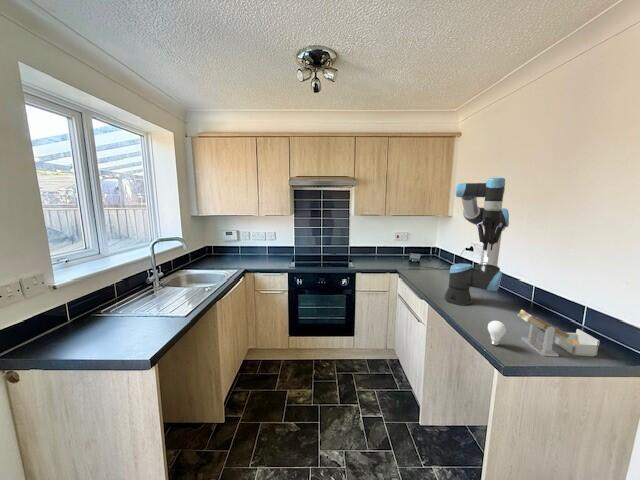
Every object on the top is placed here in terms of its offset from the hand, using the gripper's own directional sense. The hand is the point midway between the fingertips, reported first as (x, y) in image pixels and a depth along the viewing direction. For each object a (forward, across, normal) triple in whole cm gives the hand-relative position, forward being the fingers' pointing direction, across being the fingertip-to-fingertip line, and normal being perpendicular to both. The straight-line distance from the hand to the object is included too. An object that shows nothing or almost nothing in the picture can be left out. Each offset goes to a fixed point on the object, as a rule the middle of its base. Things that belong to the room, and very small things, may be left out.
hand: (486, 256), depth 133 cm
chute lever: (+26, +11, -22) cm, 35 cm away
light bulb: (+34, -6, -25) cm, 43 cm away
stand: (+34, +12, -25) cm, 44 cm away
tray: (+34, +26, -26) cm, 50 cm away
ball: (+32, +26, -26) cm, 49 cm away
